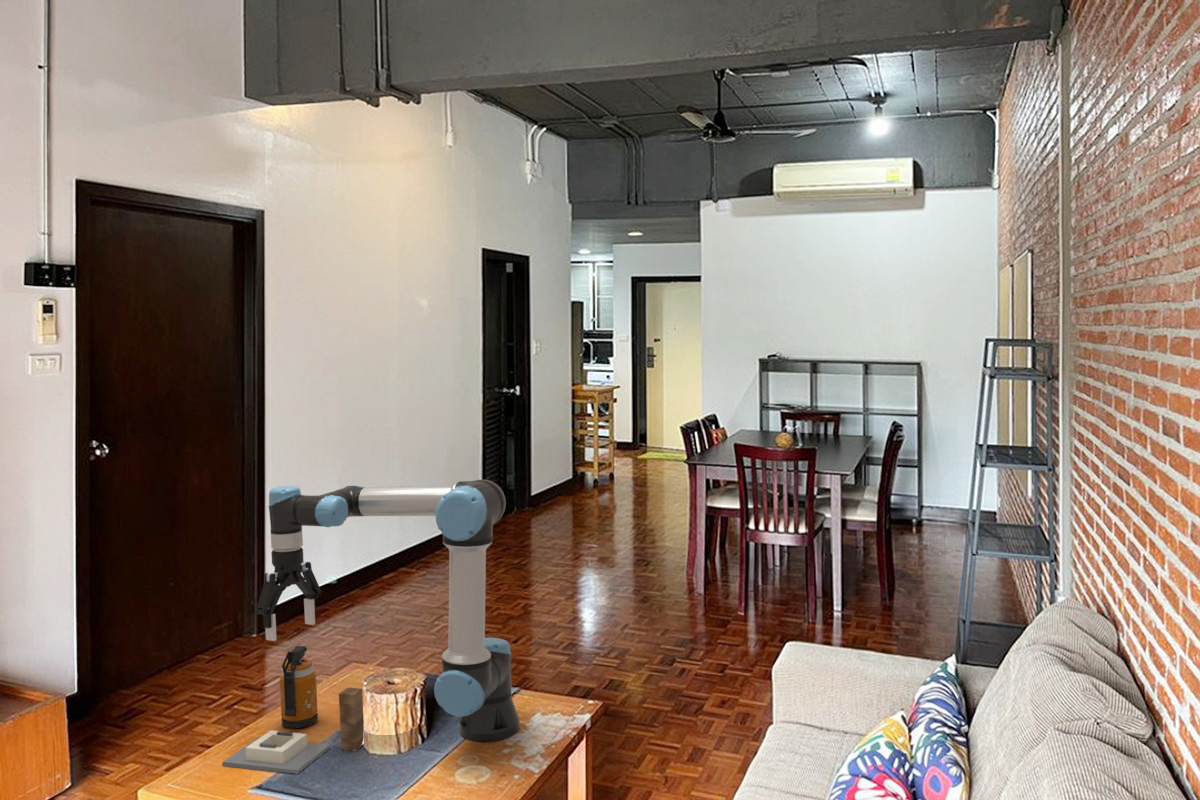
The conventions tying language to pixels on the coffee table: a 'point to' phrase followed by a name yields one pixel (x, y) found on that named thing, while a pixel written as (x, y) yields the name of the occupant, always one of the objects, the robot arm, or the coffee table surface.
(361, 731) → the wooden block
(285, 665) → the canister
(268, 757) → the grey plate
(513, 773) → the coffee table surface
